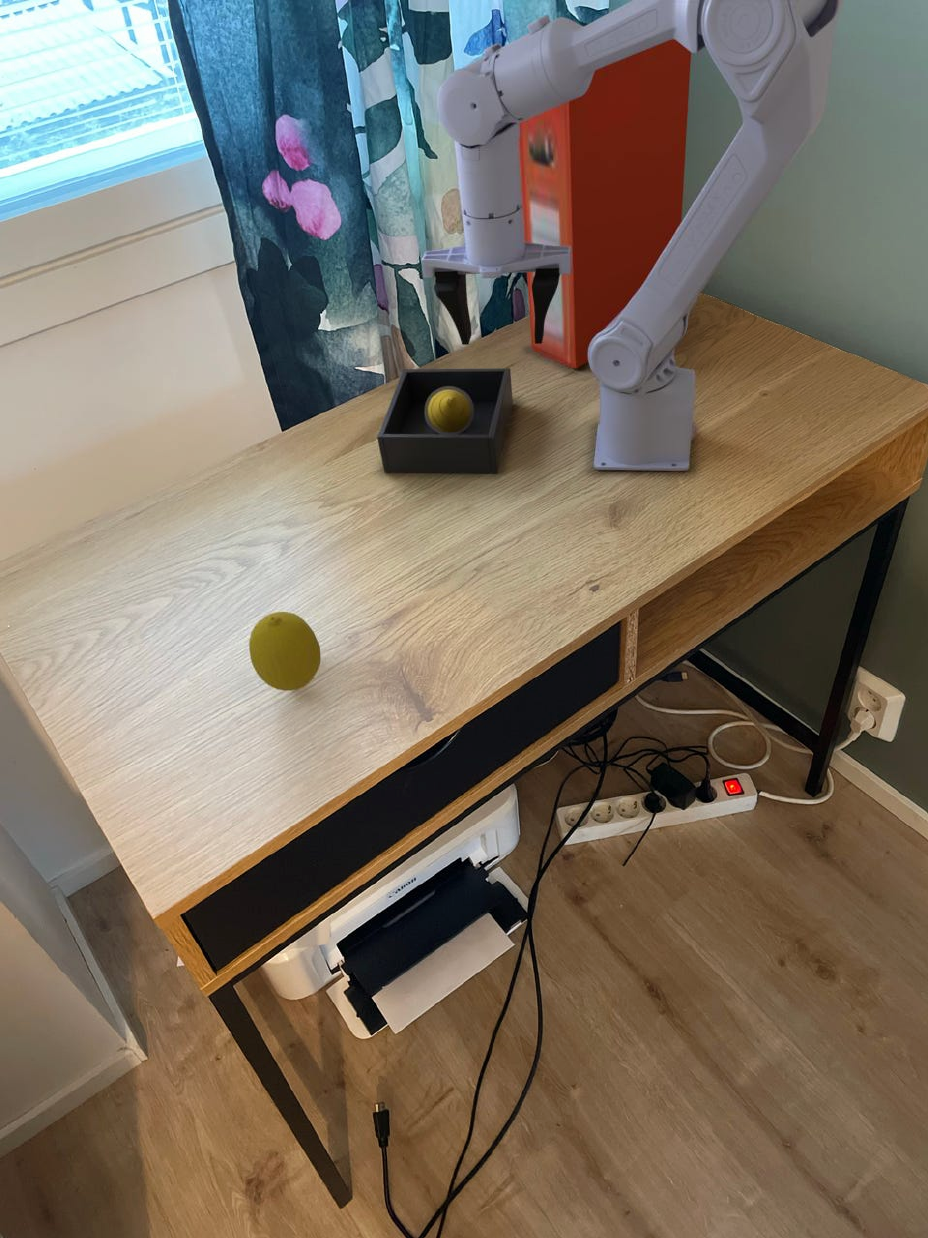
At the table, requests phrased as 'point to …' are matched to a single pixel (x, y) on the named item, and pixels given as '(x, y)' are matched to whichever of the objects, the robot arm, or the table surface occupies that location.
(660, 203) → the file binder
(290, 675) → the lemon
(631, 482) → the table surface
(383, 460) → the bin
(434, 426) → the yellow traffic cone
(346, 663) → the table surface
